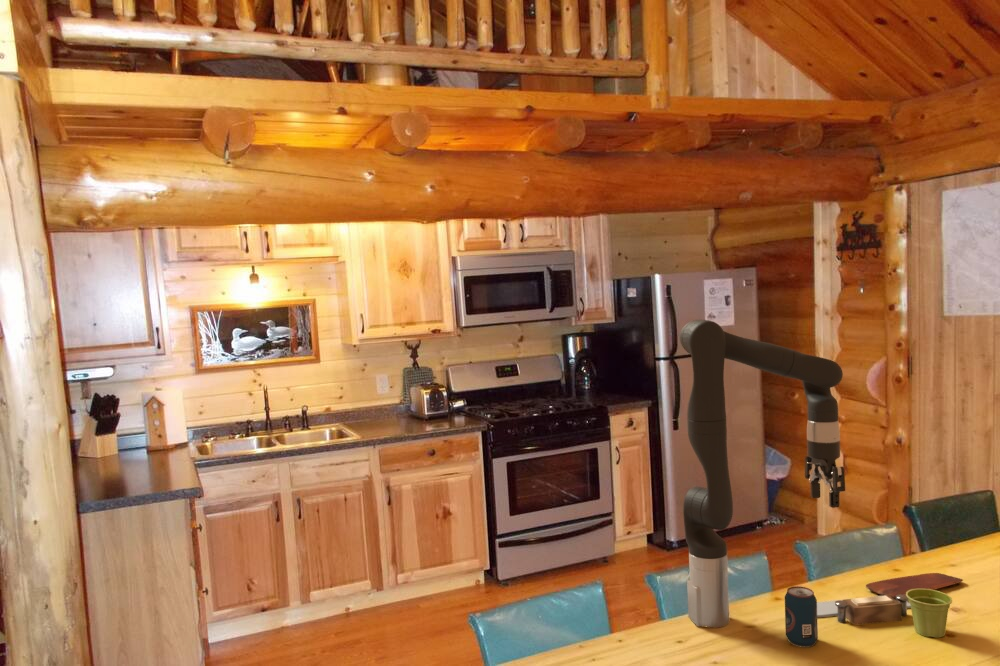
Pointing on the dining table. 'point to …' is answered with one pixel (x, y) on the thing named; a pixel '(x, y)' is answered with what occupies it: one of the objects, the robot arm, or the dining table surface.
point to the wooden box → (873, 610)
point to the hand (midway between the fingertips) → (824, 502)
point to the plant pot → (929, 611)
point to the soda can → (801, 616)
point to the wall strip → (833, 608)
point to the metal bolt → (903, 603)
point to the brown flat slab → (912, 583)
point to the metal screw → (841, 610)
